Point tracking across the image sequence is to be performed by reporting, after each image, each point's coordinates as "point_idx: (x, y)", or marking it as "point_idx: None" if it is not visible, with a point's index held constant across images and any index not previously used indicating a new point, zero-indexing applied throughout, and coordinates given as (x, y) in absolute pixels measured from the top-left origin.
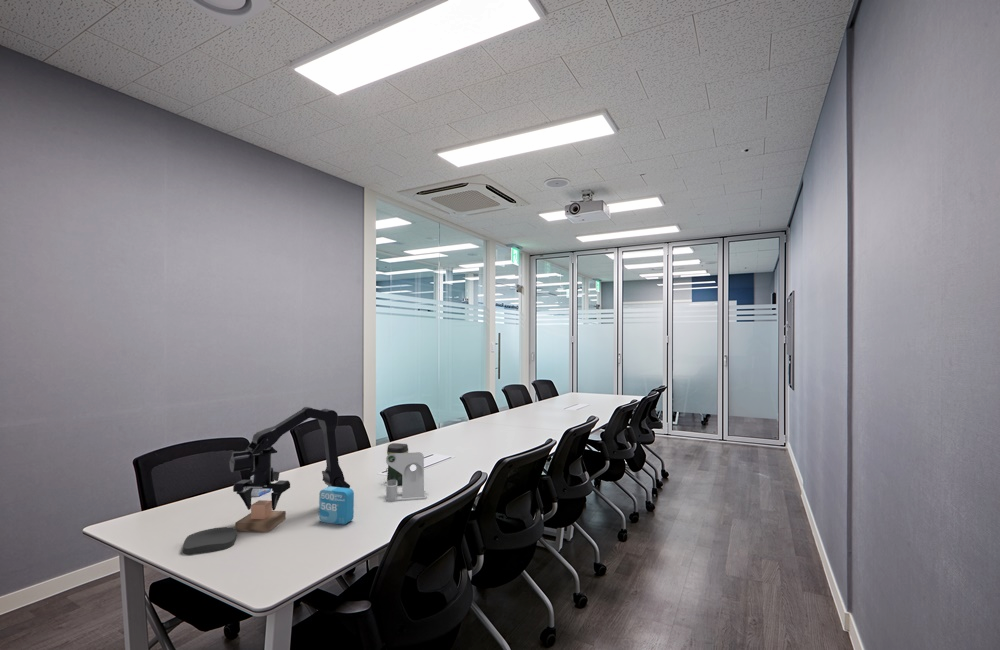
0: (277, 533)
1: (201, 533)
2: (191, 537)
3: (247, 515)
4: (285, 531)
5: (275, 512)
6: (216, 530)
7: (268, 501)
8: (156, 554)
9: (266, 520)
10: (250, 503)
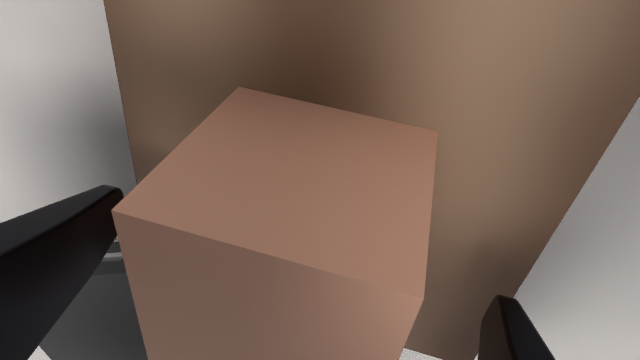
0: (557, 340)
1: (65, 328)
2: (62, 355)
3: (133, 120)
4: (633, 328)
5: (483, 64)
6: (116, 322)
7: (357, 322)
8: (40, 356)
9: (427, 305)
10: (57, 246)
